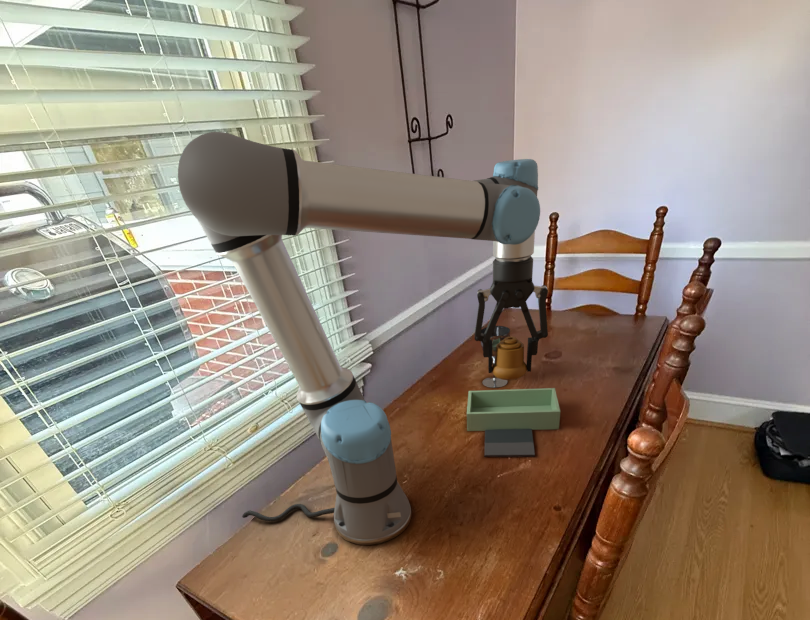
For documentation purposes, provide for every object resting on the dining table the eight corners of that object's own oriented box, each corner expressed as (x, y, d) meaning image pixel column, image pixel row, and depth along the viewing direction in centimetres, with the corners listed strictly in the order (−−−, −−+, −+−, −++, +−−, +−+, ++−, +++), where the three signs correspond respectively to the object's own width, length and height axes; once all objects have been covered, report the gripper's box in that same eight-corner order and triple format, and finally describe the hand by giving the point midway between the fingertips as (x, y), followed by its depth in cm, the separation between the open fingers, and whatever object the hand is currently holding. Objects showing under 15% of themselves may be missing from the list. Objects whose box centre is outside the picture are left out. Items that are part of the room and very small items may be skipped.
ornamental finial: (484, 374, 105) (509, 364, 108) (508, 384, 100) (534, 373, 103) (484, 339, 101) (511, 329, 103) (509, 348, 95) (536, 337, 98)
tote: (467, 431, 117) (466, 413, 114) (469, 407, 126) (468, 390, 123) (558, 429, 113) (560, 411, 110) (553, 404, 122) (555, 387, 119)
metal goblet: (514, 383, 134) (516, 331, 125) (489, 390, 132) (489, 338, 123) (499, 373, 140) (500, 323, 131) (475, 380, 138) (474, 330, 130)
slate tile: (484, 457, 107) (484, 455, 106) (485, 431, 115) (484, 429, 115) (534, 456, 105) (535, 454, 104) (531, 430, 113) (531, 428, 113)
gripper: (566, 248, 91) (555, 360, 105) (459, 256, 95) (462, 364, 108) (572, 257, 85) (560, 375, 99) (458, 265, 89) (461, 378, 102)
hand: (509, 369), depth 103 cm, fingers closed on ornamental finial, 7 cm apart
